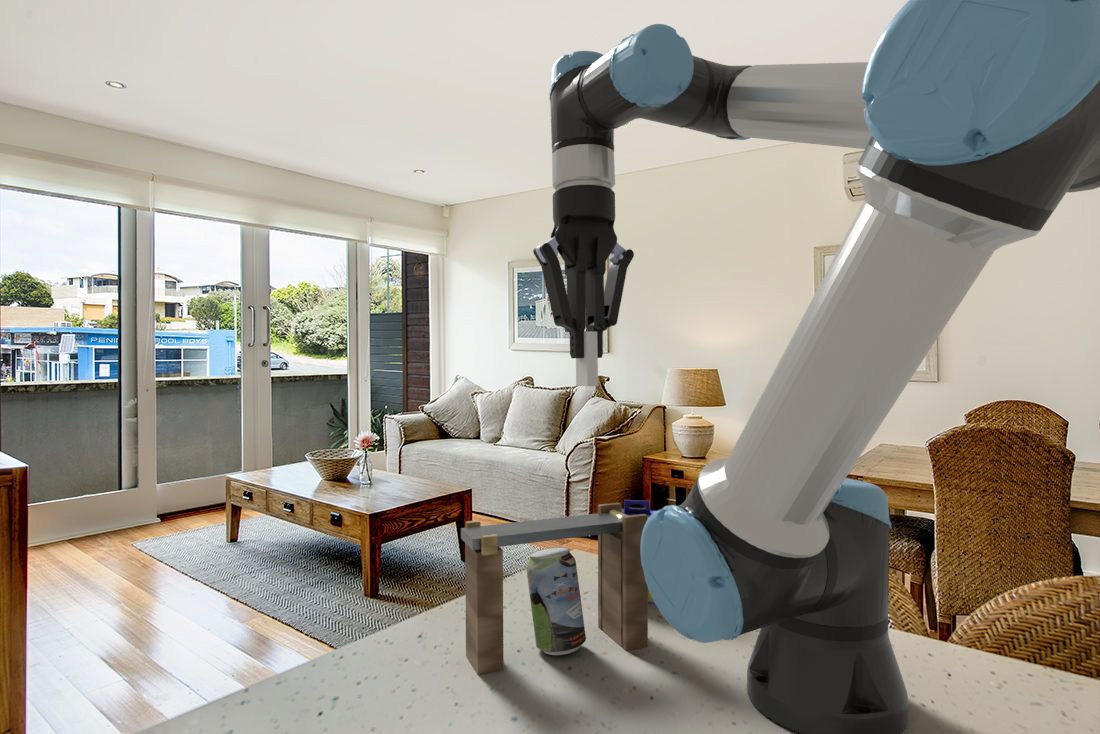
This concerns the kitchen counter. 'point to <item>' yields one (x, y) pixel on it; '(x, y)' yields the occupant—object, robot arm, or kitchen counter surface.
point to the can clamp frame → (616, 592)
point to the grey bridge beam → (545, 529)
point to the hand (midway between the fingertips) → (587, 385)
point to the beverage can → (555, 601)
